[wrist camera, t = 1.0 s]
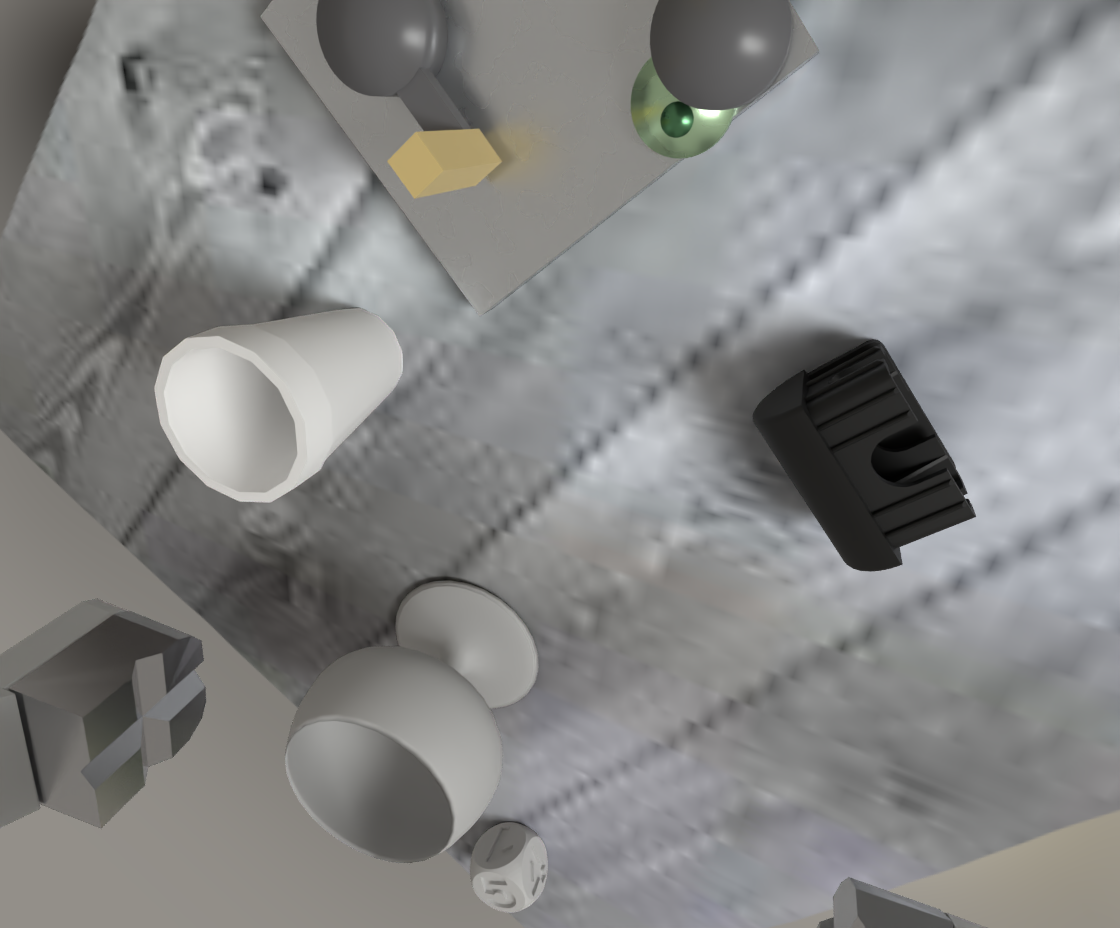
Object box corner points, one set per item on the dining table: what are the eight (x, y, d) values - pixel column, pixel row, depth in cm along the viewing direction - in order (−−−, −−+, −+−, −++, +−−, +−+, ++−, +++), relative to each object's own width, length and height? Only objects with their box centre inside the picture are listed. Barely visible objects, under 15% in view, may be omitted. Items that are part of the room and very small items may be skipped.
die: (535, 821, 65) (515, 872, 60) (553, 863, 66) (534, 915, 62) (485, 820, 67) (462, 869, 62) (504, 861, 68) (483, 911, 64)
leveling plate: (574, -357, 32) (553, -396, 30) (824, 62, 36) (824, 58, 33) (282, 20, 43) (249, 14, 40) (497, 315, 46) (478, 327, 44)
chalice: (559, 593, 54) (474, 746, 41) (545, 734, 60) (468, 906, 47) (385, 548, 57) (256, 676, 44) (389, 686, 63) (277, 834, 50)
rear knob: (324, 24, 40) (224, 6, 33) (397, -65, 37) (303, -104, 30) (455, 207, 42) (386, 225, 35) (534, 135, 39) (475, 140, 32)
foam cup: (279, 306, 51) (125, 361, 40) (387, 264, 47) (251, 312, 36) (338, 432, 54) (211, 516, 43) (445, 402, 50) (335, 486, 39)
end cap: (756, 391, 43) (745, 435, 38) (873, 327, 40) (881, 364, 34) (843, 527, 45) (845, 588, 39) (962, 476, 42) (985, 535, 36)
